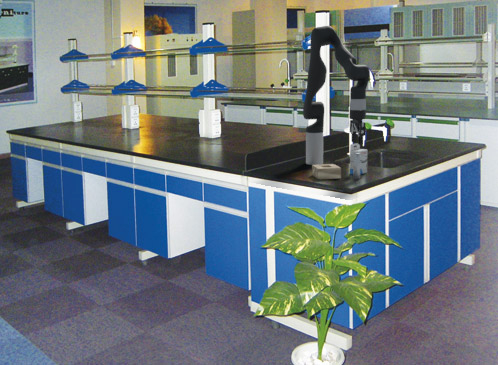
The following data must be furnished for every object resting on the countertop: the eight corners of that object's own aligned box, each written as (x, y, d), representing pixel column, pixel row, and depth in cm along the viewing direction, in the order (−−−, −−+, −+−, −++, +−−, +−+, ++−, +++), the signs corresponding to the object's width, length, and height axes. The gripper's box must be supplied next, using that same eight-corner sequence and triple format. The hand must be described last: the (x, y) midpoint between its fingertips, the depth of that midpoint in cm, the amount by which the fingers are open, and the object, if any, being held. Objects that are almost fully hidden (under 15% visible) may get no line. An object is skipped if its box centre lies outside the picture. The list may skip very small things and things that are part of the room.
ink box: (357, 175, 295) (358, 145, 292) (349, 174, 298) (349, 144, 295) (367, 172, 301) (368, 143, 298) (359, 171, 304) (359, 142, 301)
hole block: (312, 175, 298) (312, 165, 297) (333, 173, 300) (333, 163, 299) (318, 179, 287) (318, 169, 286) (340, 178, 289) (341, 167, 288)
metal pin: (352, 177, 289) (352, 153, 287) (358, 177, 290) (359, 152, 287) (354, 179, 286) (355, 154, 284) (361, 178, 287) (361, 153, 284)
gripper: (344, 107, 287) (344, 141, 291) (355, 110, 274) (354, 145, 277) (359, 107, 289) (359, 141, 292) (371, 109, 275) (370, 145, 278)
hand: (357, 143), depth 284 cm, fingers open, 8 cm apart
